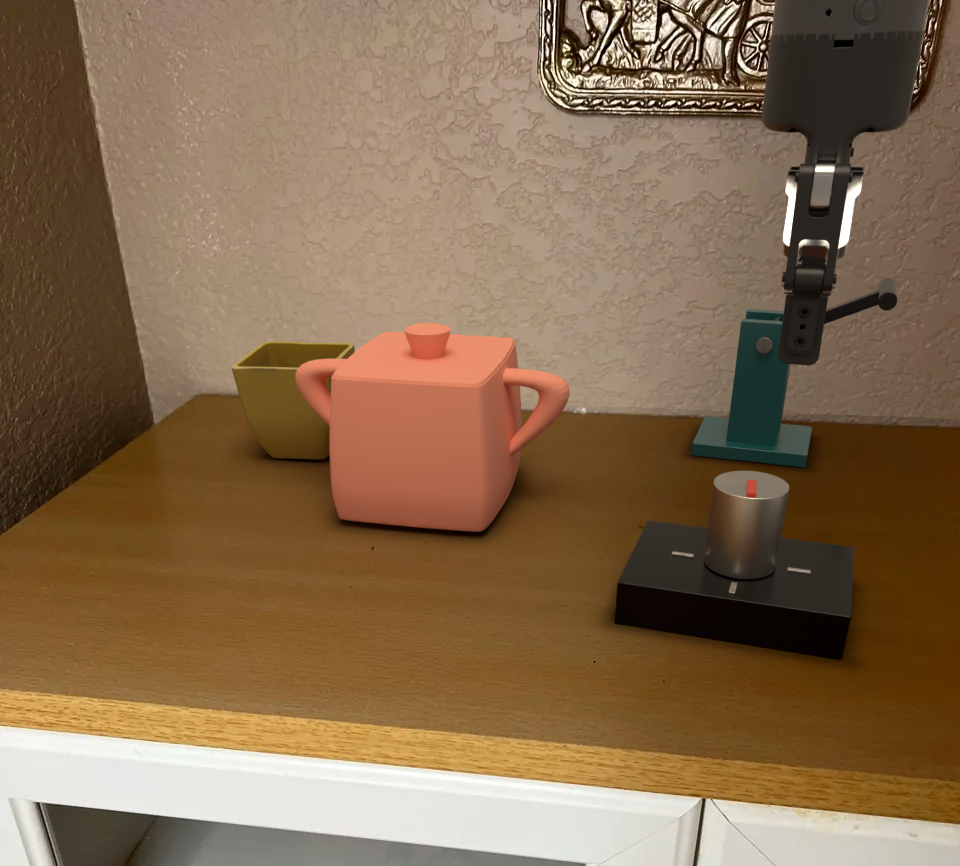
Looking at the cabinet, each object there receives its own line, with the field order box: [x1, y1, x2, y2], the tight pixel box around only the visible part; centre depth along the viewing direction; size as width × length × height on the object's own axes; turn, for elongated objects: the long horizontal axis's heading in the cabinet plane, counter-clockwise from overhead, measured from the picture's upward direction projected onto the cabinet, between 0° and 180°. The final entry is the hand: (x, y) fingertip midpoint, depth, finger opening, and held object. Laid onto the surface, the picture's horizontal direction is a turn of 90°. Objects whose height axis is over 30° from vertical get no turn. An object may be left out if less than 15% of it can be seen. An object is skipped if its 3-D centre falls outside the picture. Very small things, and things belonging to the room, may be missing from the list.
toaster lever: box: [769, 277, 898, 325], centre depth 83 cm, size 12×6×2 cm, turn 71°
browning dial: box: [704, 470, 790, 579], centre depth 62 cm, size 5×5×6 cm
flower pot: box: [231, 341, 356, 461], centre depth 88 cm, size 9×9×9 cm
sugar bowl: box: [295, 322, 570, 533], centre depth 80 cm, size 20×22×14 cm
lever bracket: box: [690, 308, 813, 468], centre depth 88 cm, size 10×8×12 cm
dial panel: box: [614, 519, 855, 660], centre depth 64 cm, size 14×10×3 cm
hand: (801, 343), depth 59 cm, fingers open, 8 cm apart
